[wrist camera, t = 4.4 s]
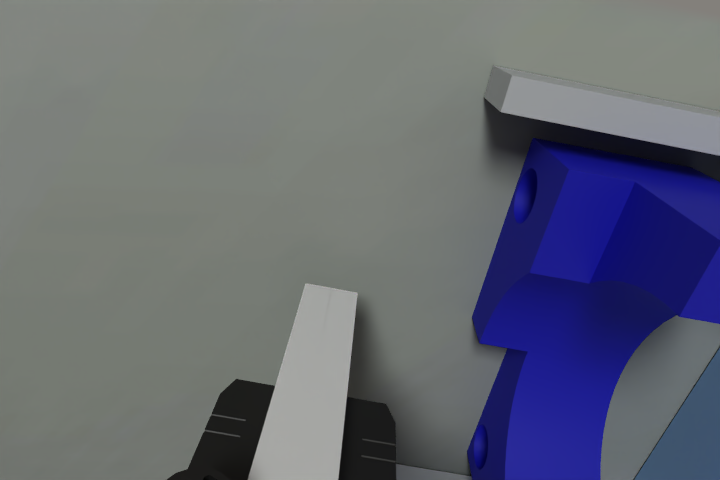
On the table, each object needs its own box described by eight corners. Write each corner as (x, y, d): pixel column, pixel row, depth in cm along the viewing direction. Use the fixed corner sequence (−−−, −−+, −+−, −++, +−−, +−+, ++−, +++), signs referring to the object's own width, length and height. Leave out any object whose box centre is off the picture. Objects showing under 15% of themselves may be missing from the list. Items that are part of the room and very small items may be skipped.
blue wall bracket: (374, 474, 19) (369, 681, 13) (493, 65, 12) (593, 118, 6) (640, 518, 19) (750, 738, 14) (898, 147, 13) (1338, 267, 7)
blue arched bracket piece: (531, 136, 13) (632, 225, 8) (688, 166, 13) (896, 273, 8) (428, 442, 18) (446, 622, 13) (542, 460, 19) (606, 646, 13)
